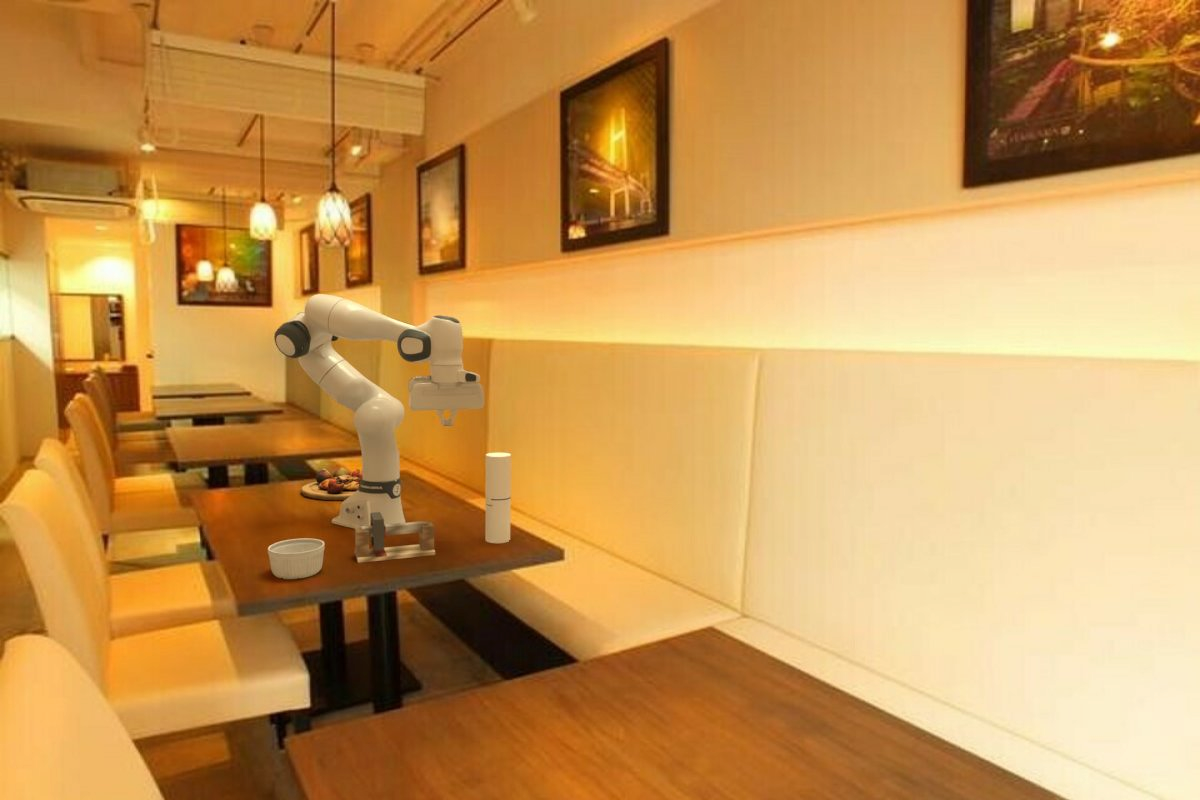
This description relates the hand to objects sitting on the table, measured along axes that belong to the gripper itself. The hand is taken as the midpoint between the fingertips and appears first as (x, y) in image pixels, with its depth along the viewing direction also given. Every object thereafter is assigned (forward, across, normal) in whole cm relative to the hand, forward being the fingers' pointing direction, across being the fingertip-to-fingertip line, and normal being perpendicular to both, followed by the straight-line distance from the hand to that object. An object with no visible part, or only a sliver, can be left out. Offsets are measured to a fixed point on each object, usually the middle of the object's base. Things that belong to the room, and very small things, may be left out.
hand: (447, 425), depth 210 cm
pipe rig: (+34, -15, -2) cm, 37 cm away
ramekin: (+34, -40, -8) cm, 53 cm away
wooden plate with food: (+34, -20, +81) cm, 90 cm away
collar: (+31, -19, -2) cm, 37 cm away
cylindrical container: (+34, +15, +2) cm, 38 cm away
